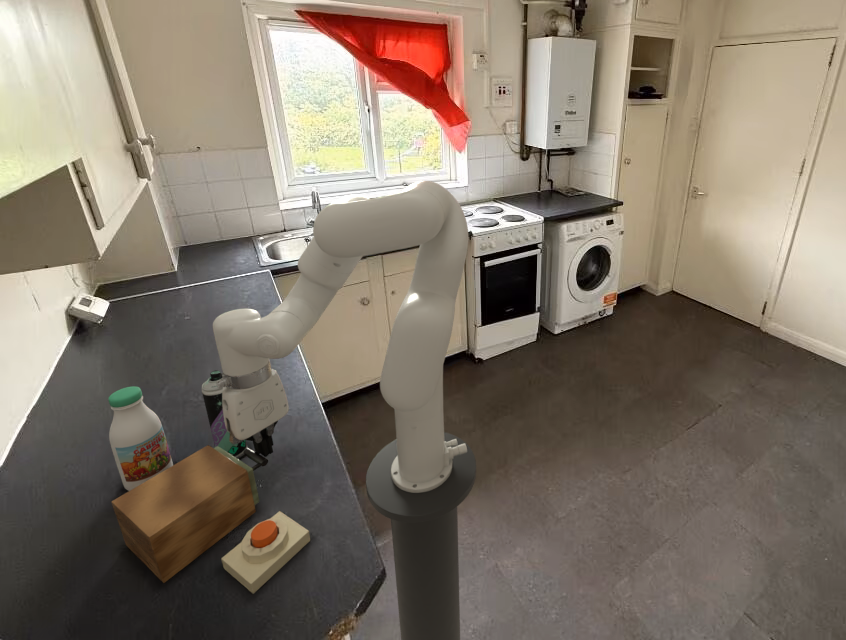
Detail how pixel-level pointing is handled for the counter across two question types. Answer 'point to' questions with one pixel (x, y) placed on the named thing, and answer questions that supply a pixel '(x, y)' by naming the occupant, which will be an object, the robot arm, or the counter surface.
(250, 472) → the drawer
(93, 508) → the counter surface
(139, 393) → the milk bottle
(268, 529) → the button
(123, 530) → the cabinet
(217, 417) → the spray can
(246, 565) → the button box
